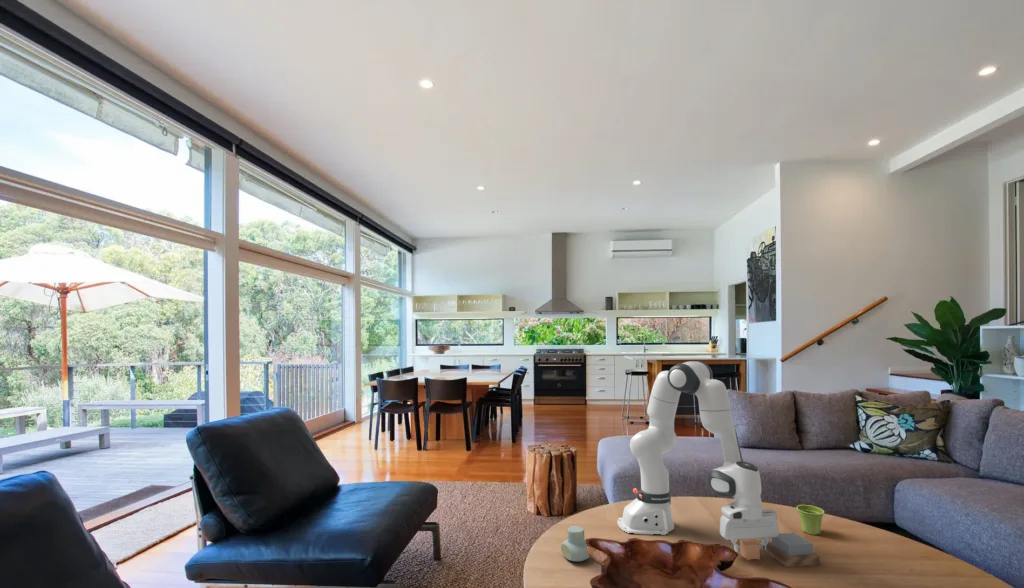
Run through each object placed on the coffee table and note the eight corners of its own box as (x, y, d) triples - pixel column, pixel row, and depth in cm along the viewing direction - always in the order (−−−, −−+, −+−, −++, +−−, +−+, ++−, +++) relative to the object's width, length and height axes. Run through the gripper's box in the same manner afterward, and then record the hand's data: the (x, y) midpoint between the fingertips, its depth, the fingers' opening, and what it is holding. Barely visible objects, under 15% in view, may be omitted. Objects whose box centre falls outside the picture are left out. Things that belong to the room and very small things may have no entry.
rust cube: (747, 560, 170) (746, 545, 170) (740, 554, 175) (739, 539, 175) (759, 559, 170) (759, 544, 171) (752, 553, 175) (752, 539, 175)
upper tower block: (789, 556, 167) (788, 545, 167) (771, 544, 176) (771, 534, 176) (813, 554, 168) (812, 543, 168) (794, 542, 177) (794, 532, 177)
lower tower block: (786, 568, 165) (785, 557, 165) (764, 552, 177) (764, 542, 177) (819, 566, 166) (819, 556, 166) (796, 550, 178) (795, 540, 178)
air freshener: (558, 553, 176) (558, 525, 177) (578, 549, 179) (577, 521, 180) (574, 567, 166) (573, 537, 167) (594, 562, 169) (594, 532, 170)
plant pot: (823, 529, 194) (822, 506, 195) (827, 538, 186) (826, 515, 186) (796, 525, 198) (795, 503, 199) (798, 534, 190) (797, 511, 190)
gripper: (771, 505, 177) (772, 544, 176) (716, 508, 176) (718, 547, 175) (782, 512, 171) (783, 553, 170) (725, 514, 169) (727, 555, 169)
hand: (750, 550), depth 173 cm, fingers open, 8 cm apart
